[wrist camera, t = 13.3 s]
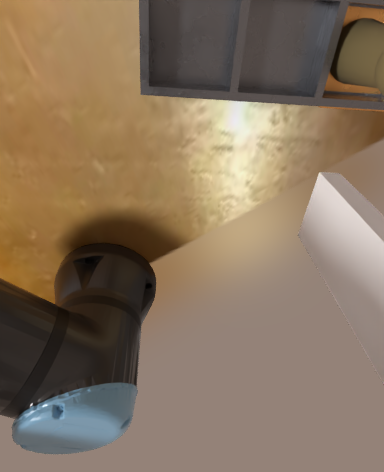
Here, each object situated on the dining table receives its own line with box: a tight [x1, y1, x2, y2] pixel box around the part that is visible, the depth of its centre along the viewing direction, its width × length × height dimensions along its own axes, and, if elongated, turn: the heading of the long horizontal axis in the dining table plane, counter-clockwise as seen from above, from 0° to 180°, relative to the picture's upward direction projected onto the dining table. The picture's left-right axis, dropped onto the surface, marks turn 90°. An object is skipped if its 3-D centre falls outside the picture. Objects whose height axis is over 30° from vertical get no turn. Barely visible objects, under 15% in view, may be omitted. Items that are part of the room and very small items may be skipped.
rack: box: [139, 0, 384, 112], centre depth 32 cm, size 27×10×4 cm, turn 86°
